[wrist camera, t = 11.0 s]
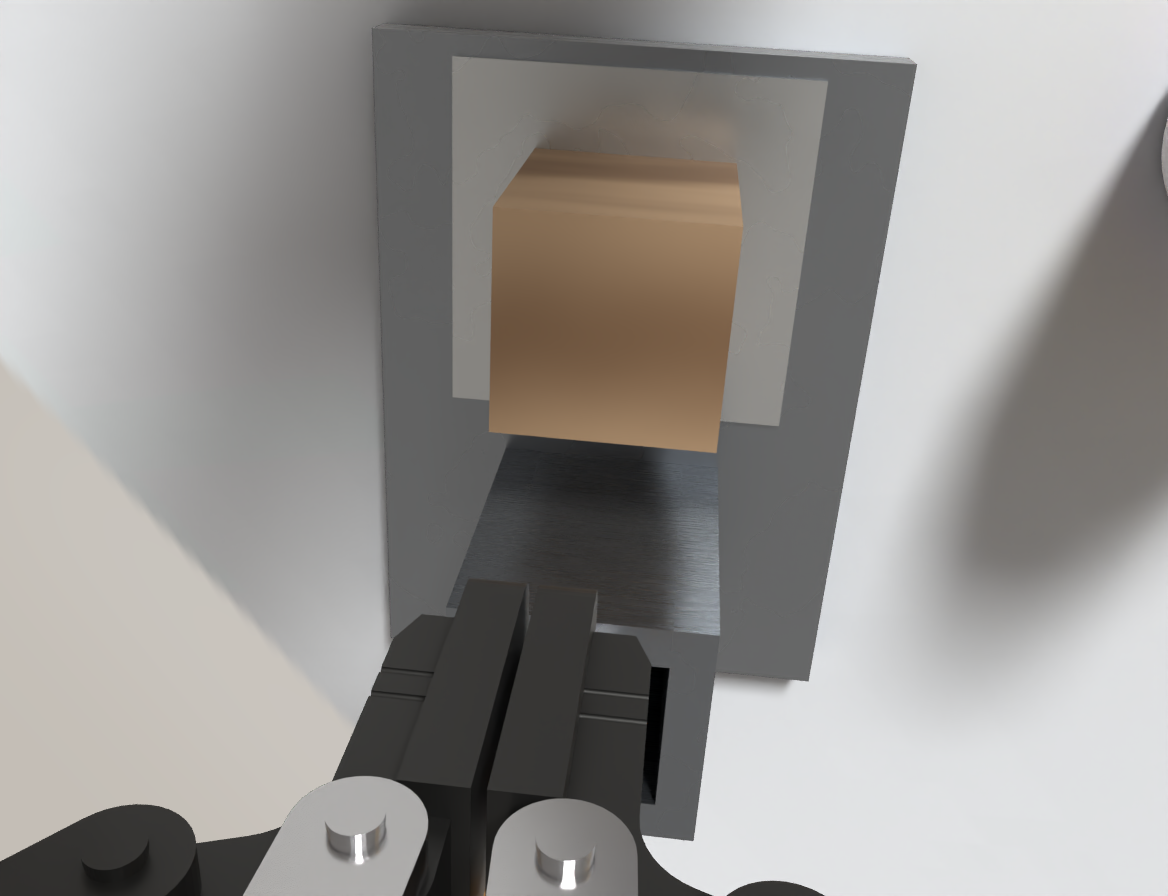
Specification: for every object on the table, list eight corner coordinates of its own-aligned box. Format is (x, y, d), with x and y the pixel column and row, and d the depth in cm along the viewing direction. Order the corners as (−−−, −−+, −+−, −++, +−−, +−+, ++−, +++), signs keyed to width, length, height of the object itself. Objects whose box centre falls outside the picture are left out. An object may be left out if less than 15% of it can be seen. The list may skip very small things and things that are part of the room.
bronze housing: (534, 148, 28) (492, 207, 22) (736, 163, 27) (743, 226, 22) (528, 337, 30) (489, 432, 24) (715, 352, 30) (716, 453, 24)
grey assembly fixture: (384, 23, 28) (249, 73, 20) (908, 57, 27) (995, 125, 19) (400, 615, 36) (308, 826, 28) (805, 657, 35) (834, 888, 27)
